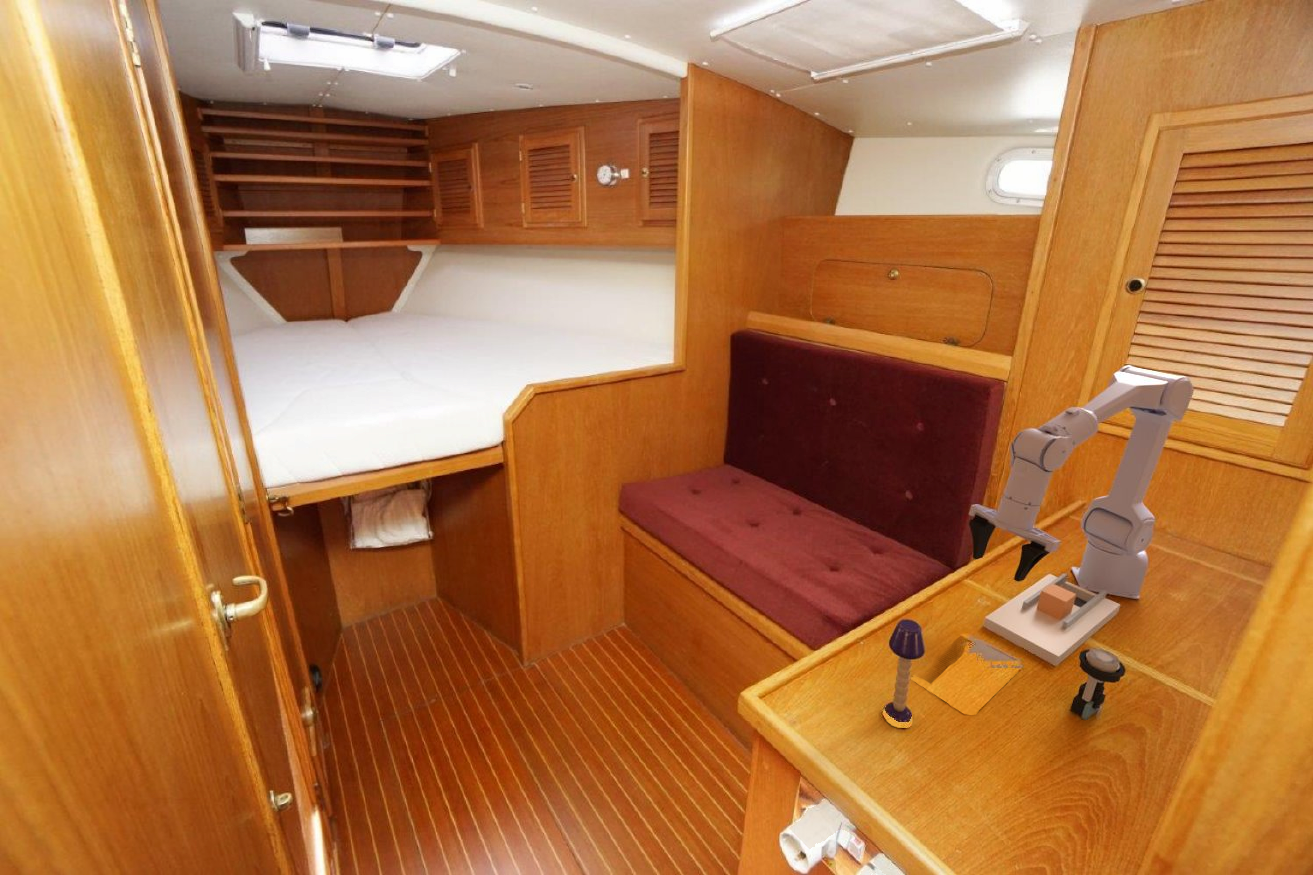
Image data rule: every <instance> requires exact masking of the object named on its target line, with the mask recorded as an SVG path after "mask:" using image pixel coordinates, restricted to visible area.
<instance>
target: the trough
mask: <svg viewBox="0 0 1313 875" xmlns="http://www.w3.org/2000/svg"><path fill="white" fill-rule="evenodd" d="M1068 576H1069V574H1068V573H1066V572H1063V574H1060V576H1055V575H1053V574H1051V573H1049V574H1047V575H1045V576H1044V577H1043V578H1041V579H1039V580H1038V581H1037V582H1035V583H1034V584H1032V585H1031V586H1029V587H1027V588H1026V589H1025V590H1024V591H1021V593H1019V594H1017V595H1016V596H1015V597H1013V598H1011V599H1010V600H1008V601H1006V603H1004V604H1002V605H1001V606H1000V607H999V608H997V609H995V610H994V611H992V612H991V613H989V614H988V615H986V616H985V617H984V621H983V625H982V627H983V628H985V627H986V628H985V629H987V630H989V631H991V632H993V633H994V632H995V633H994V634H996V633H997V634H996V635H998V636H1000V637H1001V636H1002V637H1001V638H1003V637H1004V638H1003V639H1004V640H1007V641H1009V642H1011V643H1013V644H1014V645H1016V646H1018V647H1019V648H1022V647H1023V648H1024V649H1023V648H1022V649H1023V650H1025V649H1026V650H1025V651H1027V650H1028V651H1027V652H1029V653H1031V654H1033V655H1034V654H1035V655H1034V656H1037V657H1038V658H1040V659H1042V660H1043V661H1046V662H1048V663H1049V664H1051V665H1053V666H1055V667H1057V666H1058V665H1059V664H1061V663H1062V662H1063V661H1064V660H1065V659H1067V658H1068V657H1069V656H1070V655H1071V654H1072V653H1074V652H1075V651H1076V650H1077V649H1078V648H1079V647H1080V646H1081V645H1083V644H1084V643H1085V642H1086V641H1087V640H1089V639H1090V638H1091V637H1092V636H1093V635H1094V634H1096V633H1097V632H1098V631H1099V630H1100V629H1101V628H1102V627H1104V626H1105V625H1106V624H1107V623H1108V622H1110V620H1112V619H1113V618H1115V616H1116V615H1118V613H1119V610H1120V607H1121V604H1120V603H1117V601H1114V600H1111V599H1108V598H1106V597H1107V595H1108V594H1107V591H1106V590H1103V591H1101V592H1100V593H1099V592H1098V594H1097V593H1096V592H1093V591H1088V590H1086V589H1084V588H1081V587H1080V586H1079V585H1076V584H1075V583H1072V582H1070V581H1067V580H1068ZM1052 583H1053V584H1055V585H1057V586H1059V587H1062V588H1064V589H1066V590H1068V591H1071V592H1073V593H1075V594H1076V598H1075V601H1074V605H1073V608H1072V611H1071V613H1070V614H1069V615H1067V616H1066V617H1065V618H1064V619H1062V620H1061V621H1060V620H1058V619H1056V618H1054V617H1052V616H1050V615H1048V614H1046V613H1044V612H1042V611H1040V610H1037V605H1038V602H1039V598H1040V594H1041V591H1042V590H1043V589H1044V588H1046V587H1047V586H1049V585H1050V584H1052Z"/></svg>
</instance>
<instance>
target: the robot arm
mask: <svg viewBox="0 0 1313 875" xmlns="http://www.w3.org/2000/svg"><path fill="white" fill-rule="evenodd" d="M1194 391H1195V388H1194V386H1193V383H1192V382H1191V379H1190V378H1189V377H1187V376H1184V375H1175V374H1169V373H1164V372H1159V371H1154V370H1150V369H1144V368H1140V367H1136V366H1133V365H1130V364H1128V365H1125V366H1123V367H1121V368H1120V369H1118V370H1117V371H1116V372H1114V373H1113V374H1112V375H1111V377H1110V380H1109V382H1108V385H1107V388H1105V389H1104V390H1102V392H1100V393H1099V394H1097V395H1096V396H1095V397H1094V398H1092V399H1091V400H1090V401H1088V403H1086V404H1085V405H1083V407H1077V406H1073V407H1068V408H1067V409H1066V410H1064V411H1063V412H1061V413H1059V414H1057V415H1056V416H1055V417H1053V418H1051V419H1050V420H1049V421H1048V420H1047V422H1045V423H1044V424H1042V425H1041V426H1039V427H1038V428H1031V427H1030V428H1026V429H1023V430H1022V431H1019V432H1018V433H1017V434H1016V436H1015V437H1014V439H1013V441H1011V442H1010V445H1009V453H1010V460H1009V463H1008V464H1009V468H1010V472H1009V475H1008V478H1007V481H1006V483H1005V487H1004V489H1003V492H1002V495H1001V498H1000V501H999V504H998V507H997V510H996V509H992V508H990V507H986V506H983V505H981V504H979V503H978V504H977V503H976V504H975V503H974V504H971V506H970V509H969V512H968V515H969V516H970V517H971V516H972V517H973V518H972V519H970V520H969V521H968V525H969V528H970V532H971V536H972V559H974V560H979V559H983V557H984V555H985V553H986V550H987V547H988V545H989V541H990V539H991V536H992V534H993V533H994V531H995V529H996V528H999V529H1000V530H1003V531H1006V532H1009V533H1010V534H1013V535H1015V536H1017V537H1019V538H1022V539H1024V540H1026V541H1028V542H1030V543H1025V544H1022V545H1021V554H1020V558H1019V564H1018V566H1017V568H1016V571H1015V574H1014V578H1013V580H1014V581H1015V582H1018V583H1019V582H1021V581H1025V580H1026V577H1027V576H1028V575H1029V573H1030V572H1031V570H1032V569H1033V568H1034V567H1035V566H1036V565H1037V564H1038V563H1039V562H1040V561H1041V560H1043V559H1044V558H1045V557H1046V556H1048V555H1049V554H1050V553H1055V552H1058V550H1059V547H1060V545H1061V542H1062V541H1061V540H1060V539H1057V538H1055V537H1054V536H1051V535H1050V534H1048V533H1047V532H1045V531H1044V530H1041V529H1039V528H1038V527H1036V526H1035V522H1036V520H1037V517H1038V514H1039V512H1040V510H1041V506H1042V503H1043V501H1044V498H1045V494H1046V492H1047V490H1048V487H1049V484H1050V481H1051V478H1052V475H1053V473H1054V471H1056V470H1059V469H1060V468H1061V467H1063V465H1065V463H1066V461H1067V460H1068V458H1069V457H1070V456H1071V455H1073V452H1074V449H1075V448H1077V447H1078V446H1080V445H1081V444H1083V443H1084V442H1086V441H1087V440H1089V439H1091V438H1092V437H1094V436H1095V435H1096V434H1097V433H1098V431H1099V424H1101V423H1102V422H1104V421H1107V420H1108V419H1110V418H1112V417H1114V416H1116V415H1117V414H1119V413H1121V412H1123V411H1125V410H1127V409H1128V410H1130V412H1131V414H1133V416H1134V418H1135V421H1134V424H1133V426H1132V430H1131V431H1130V432H1131V433H1130V435H1129V438H1128V439H1127V440H1128V441H1127V443H1126V446H1125V449H1124V451H1123V454H1122V458H1121V460H1120V463H1119V465H1118V467H1117V470H1116V473H1115V476H1114V479H1113V482H1112V485H1111V487H1110V490H1109V492H1108V495H1103V496H1099V497H1095V498H1094V499H1092V500H1091V502H1090V504H1089V506H1088V508H1087V510H1086V511H1085V512H1084V514H1083V515H1082V518H1081V520H1080V527H1081V530H1082V532H1083V533H1084V534H1085V535H1084V538H1085V539H1087V543H1086V545H1085V546H1086V547H1085V549H1084V553H1083V556H1082V560H1081V563H1080V567H1075V566H1072V567H1071V568H1070V569H1071V572H1072V573H1073V575H1074V577H1075V579H1076V581H1077V584H1078V586H1079V587H1081V588H1084V589H1086V590H1088V591H1090V592H1093V593H1098V594H1099V593H1100V592H1101V591H1103V590H1106V591H1107V594H1106V595H1110V596H1111V595H1112V596H1117V597H1124V598H1128V599H1135V600H1139V599H1140V598H1141V597H1140V591H1141V590H1142V586H1143V582H1144V579H1145V577H1146V574H1147V572H1148V565H1149V558H1148V554H1147V552H1146V549H1147V548H1148V546H1149V545H1150V544H1151V542H1152V540H1153V538H1154V537H1153V536H1154V526H1155V523H1156V522H1155V521H1156V517H1155V516H1154V515H1153V513H1152V512H1151V511H1150V510H1149V509H1148V507H1147V506H1146V505H1145V504H1144V502H1143V501H1144V498H1145V496H1146V493H1147V491H1148V488H1149V486H1150V483H1151V480H1152V477H1153V475H1154V473H1155V471H1156V467H1157V466H1158V462H1159V460H1160V457H1161V454H1162V452H1163V450H1164V447H1165V444H1166V442H1167V439H1168V436H1169V434H1170V431H1171V428H1172V425H1173V424H1174V422H1181V421H1182V420H1183V418H1184V417H1185V415H1186V412H1187V410H1188V407H1189V405H1190V403H1191V400H1192V397H1193V394H1194Z"/></svg>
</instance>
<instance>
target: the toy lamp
mask: <svg viewBox="0 0 1313 875" xmlns="http://www.w3.org/2000/svg"><path fill="white" fill-rule="evenodd" d="M888 646H889V649H890V650H891V651H892V653H894V654H895V655H896V656H898V659H897V660H898V661H897V663H898V665H897V669H896V673H897V674H896V676H895V684H894V689H895V690H894V692H893V701H891V702H888V703H887V704H886V705H885V706H886V707H885V706H884V707H885V711H886V713H887V714H888V715H889V716H890V717H892V718H894V720H896V721H898V722H909V721H910V719H911V717H912V715H913V713H912V711H911V709H910V708H909V707H908V706H907V702H906V701H907V699H908V693H909V684H910V682H911V679H910V677H911V668H912V665H913V661H914V660H920V659H921V658H922V657H924V655H925V652H926V647H925V640H924V636H923V631H922V627H921V625H920V624H919V623H918V622H917V621H915V620H913V619H908V618H907V619H906V618H905V619H900V621H898V622H897V623H896V626H895V628H894V629H893V632H892V633H891V636H890V638H889V641H888ZM912 660H913V661H912Z"/></svg>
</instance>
